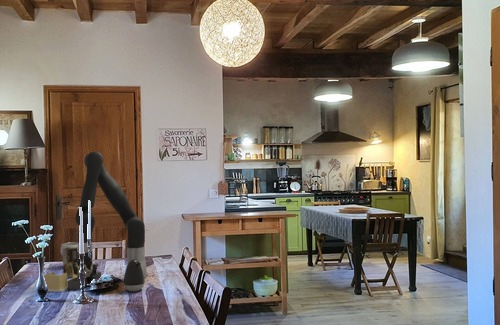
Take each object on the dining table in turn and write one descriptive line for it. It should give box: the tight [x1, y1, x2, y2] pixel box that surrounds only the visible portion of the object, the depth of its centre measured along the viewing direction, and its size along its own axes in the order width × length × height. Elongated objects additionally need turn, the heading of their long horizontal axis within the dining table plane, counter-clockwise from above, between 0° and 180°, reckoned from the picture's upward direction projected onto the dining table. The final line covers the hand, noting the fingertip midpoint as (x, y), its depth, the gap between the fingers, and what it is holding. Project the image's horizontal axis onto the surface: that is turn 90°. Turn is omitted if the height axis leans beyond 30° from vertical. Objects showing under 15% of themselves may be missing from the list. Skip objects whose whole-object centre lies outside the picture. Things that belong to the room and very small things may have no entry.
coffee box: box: [62, 247, 78, 278], centre depth 275 cm, size 9×6×16 cm
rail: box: [67, 271, 102, 291], centre depth 252 cm, size 5×22×5 cm, turn 164°
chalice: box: [60, 241, 78, 256], centre depth 301 cm, size 14×14×15 cm
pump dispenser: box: [123, 260, 146, 293], centre depth 238 cm, size 10×10×15 cm
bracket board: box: [43, 266, 92, 293], centre depth 255 cm, size 12×30×8 cm, turn 165°
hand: (84, 283), depth 253 cm, fingers open, 5 cm apart
